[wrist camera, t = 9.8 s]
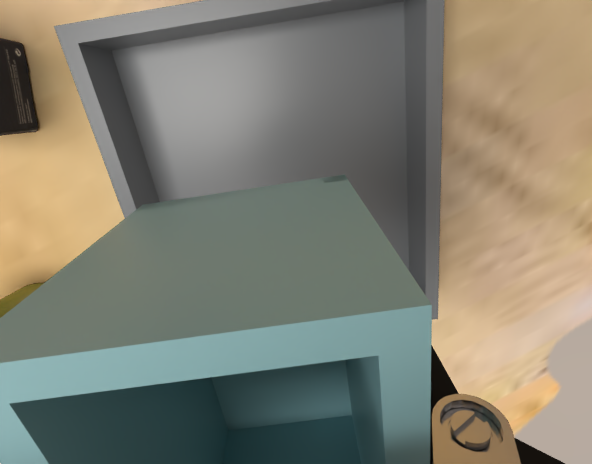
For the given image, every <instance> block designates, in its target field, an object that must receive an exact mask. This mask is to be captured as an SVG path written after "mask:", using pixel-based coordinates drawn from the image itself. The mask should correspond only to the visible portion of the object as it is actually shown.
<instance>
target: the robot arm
mask: <svg viewBox="0 0 592 464" xmlns="http://www.w3.org/2000/svg"><path fill="white" fill-rule="evenodd" d="M430 464H565V463H563V462H561V461H559V460H557V459H555V458H553V457H551V456H549V455H547V454H545V453H543V452H541V451H539V450H537V449H535V448H533V447H531V446H529V445H527V444H525V443H524V442H521V441H520V440H518V439H516V438H514V435H513V431H512V429H511V427H510V424H509V422H508V420H507V419H506V418H505V417H504V415H503V414H502V413H501V412H500V411H499V410H498V409H497V408H495V407H494V406H493V405H492V404H490V403H489V402H487V401H485V400H483V399H481V398H478V397H475V396H471V395H467V394H458V392H457V390H456V388H455V386H454V385H453V383H452V381H451V379H450V377H449V376H448V374H447V372H446V370H445V368H444V367H443V365H442V363H441V361H440V359H439V358H438V356H437V354H436V352H435V351H434V349H433V347H432V345H431V411H430Z"/></svg>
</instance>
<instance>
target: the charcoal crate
mask: <svg viewBox="0 0 592 464" xmlns="http://www.w3.org/2000/svg"><path fill="white" fill-rule="evenodd" d="M54 28H55V30H56V33H57V36H58V39H59V41H60V44H61V47H62V49H63V52H64V55H65V57H66V60H67V63H68V66H69V68H70V71H71V74H72V76H73V79H74V82H75V85H76V87H77V90H78V93H79V95H80V98H81V101H82V104H83V106H84V109H85V112H86V114H87V117H88V120H89V123H90V125H91V128H92V131H93V133H94V136H95V139H96V141H97V144H98V147H99V150H100V152H101V155H102V158H103V160H104V163H105V166H106V169H107V171H108V174H109V177H110V179H111V182H112V185H113V188H114V190H115V193H116V196H117V198H118V201H119V204H120V207H121V209H122V212H123V215H124V217H125V218H127V217H128V216H129V215H130V214H132V213H133V212H134V211H135V210H137V209H138V208H139V207H140V206H142V205H144V204H151V203H157V202H164V201H171V200H177V199H184V198H191V197H197V196H204V195H211V194H217V193H224V192H231V191H237V190H244V189H251V188H257V187H264V186H271V185H277V184H284V183H291V182H297V181H304V180H311V179H317V178H324V177H331V176H337V175H344V174H345V176H346V177H347V179H348V180H349V182H350V183H351V185H352V186H353V188H354V189H355V191H356V192H357V194H358V195H359V197H360V198H361V200H362V201H363V203H364V204H365V206H366V207H367V209H368V210H369V212H370V213H371V215H372V216H373V218H374V219H375V221H376V222H377V224H378V225H379V227H380V228H381V230H382V231H383V233H384V234H385V236H386V237H387V239H388V240H389V242H390V243H391V245H392V246H393V248H394V249H395V251H396V252H397V254H398V255H399V257H400V258H401V260H402V261H403V263H404V264H405V266H406V267H407V269H408V270H409V272H410V273H411V275H412V276H413V278H414V279H415V281H416V282H417V284H418V285H419V287H420V288H421V290H422V291H423V293H424V294H425V296H426V297H427V299H428V300H429V302H430V303H431V305H432V319H438V285H439V236H440V188H441V140H442V92H443V44H444V0H204V1H198V2H192V3H186V4H180V5H175V6H169V7H163V8H157V9H151V10H146V11H140V12H134V13H128V14H122V15H116V16H111V17H105V18H99V19H93V20H87V21H81V22H76V23H70V24H64V25H58V26H54Z"/></svg>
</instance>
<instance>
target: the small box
mask: <svg viewBox="0 0 592 464" xmlns="http://www.w3.org/2000/svg"><path fill="white" fill-rule="evenodd" d="M28 72H29V70H28V66H27V62H26V57H25V54H24V48H23V45H22V44H21V43H18V42H14V41H10V40H6V39H2V38H0V136H1V135H9V134H19V133H27V132H36V131H37V130H38V127H37V124H38V123H37V119H36V116H35V109H34V105H33V100H32V94H31V88H30V81H29V76H28Z"/></svg>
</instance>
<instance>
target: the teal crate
mask: <svg viewBox="0 0 592 464" xmlns="http://www.w3.org/2000/svg"><path fill="white" fill-rule="evenodd" d="M431 327H432V305H431V303H430V302H429V300H428V299H427V297H426V296H425V294H424V293H423V291H422V290H421V288H420V287H419V285H418V284H417V282H416V281H415V279H414V278H413V276H412V275H411V273H410V272H409V270H408V269H407V267H406V266H405V264H404V263H403V261H402V260H401V258H400V257H399V255H398V254H397V252H396V251H395V249H394V248H393V246H392V245H391V243H390V242H389V240H388V239H387V237H386V236H385V234H384V233H383V231H382V230H381V228H380V227H379V225H378V224H377V222H376V221H375V219H374V218H373V216H372V215H371V213H370V212H369V210H368V209H367V207H366V206H365V204H364V203H363V201H362V200H361V198H360V197H359V195H358V194H357V192H356V191H355V189H354V188H353V186H352V185H351V183H350V182H349V180H348V179H347V177H346V176H345V174H344V175H337V176H331V177H324V178H317V179H311V180H304V181H297V182H291V183H284V184H277V185H271V186H264V187H257V188H251V189H244V190H237V191H231V192H224V193H217V194H211V195H204V196H197V197H191V198H184V199H177V200H171V201H164V202H157V203H151V204H144V205H142V206H140V207H139V208H138V209H137V210H135V211H134V212H133V213H132V214H130V215H129V216H128V217H127V218H125V219H124V220H123V221H122V222H120V223H119V224H118V225H116V226H115V227H114V228H113V229H111V230H110V231H109V232H108V233H106V234H105V235H104V236H103V237H101V238H100V239H99V240H98V241H96V242H95V243H94V244H93V245H91V246H90V247H89V248H88V249H86V250H85V251H84V252H83V253H81V254H80V255H79V256H78V257H76V258H75V259H74V260H73V261H71V262H70V263H69V264H68V265H66V266H65V267H64V268H63V269H61V270H60V271H59V272H58V273H56V274H55V275H54V276H53V277H51V278H50V279H49V280H48V281H46V282H45V283H44V284H43V285H41V286H40V287H39V288H38V289H36V290H35V291H34V292H33V293H31V294H30V295H29V296H28V297H26V298H25V299H24V300H23V301H21V302H20V303H19V304H18V305H16V306H15V307H14V308H12V309H11V310H10V311H9V312H7V313H6V314H5V315H4V316H2V317H1V318H0V463H1V464H430V411H431Z"/></svg>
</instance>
